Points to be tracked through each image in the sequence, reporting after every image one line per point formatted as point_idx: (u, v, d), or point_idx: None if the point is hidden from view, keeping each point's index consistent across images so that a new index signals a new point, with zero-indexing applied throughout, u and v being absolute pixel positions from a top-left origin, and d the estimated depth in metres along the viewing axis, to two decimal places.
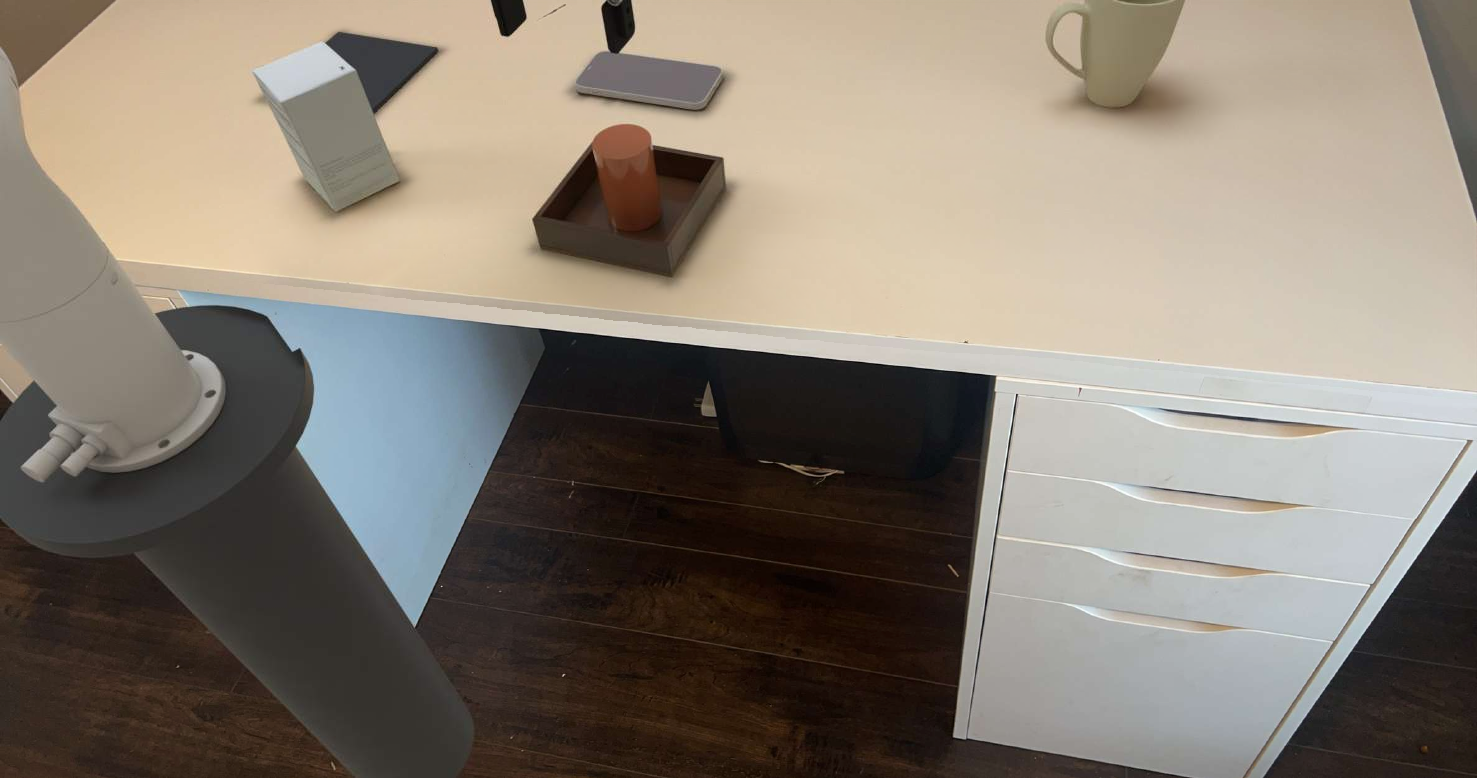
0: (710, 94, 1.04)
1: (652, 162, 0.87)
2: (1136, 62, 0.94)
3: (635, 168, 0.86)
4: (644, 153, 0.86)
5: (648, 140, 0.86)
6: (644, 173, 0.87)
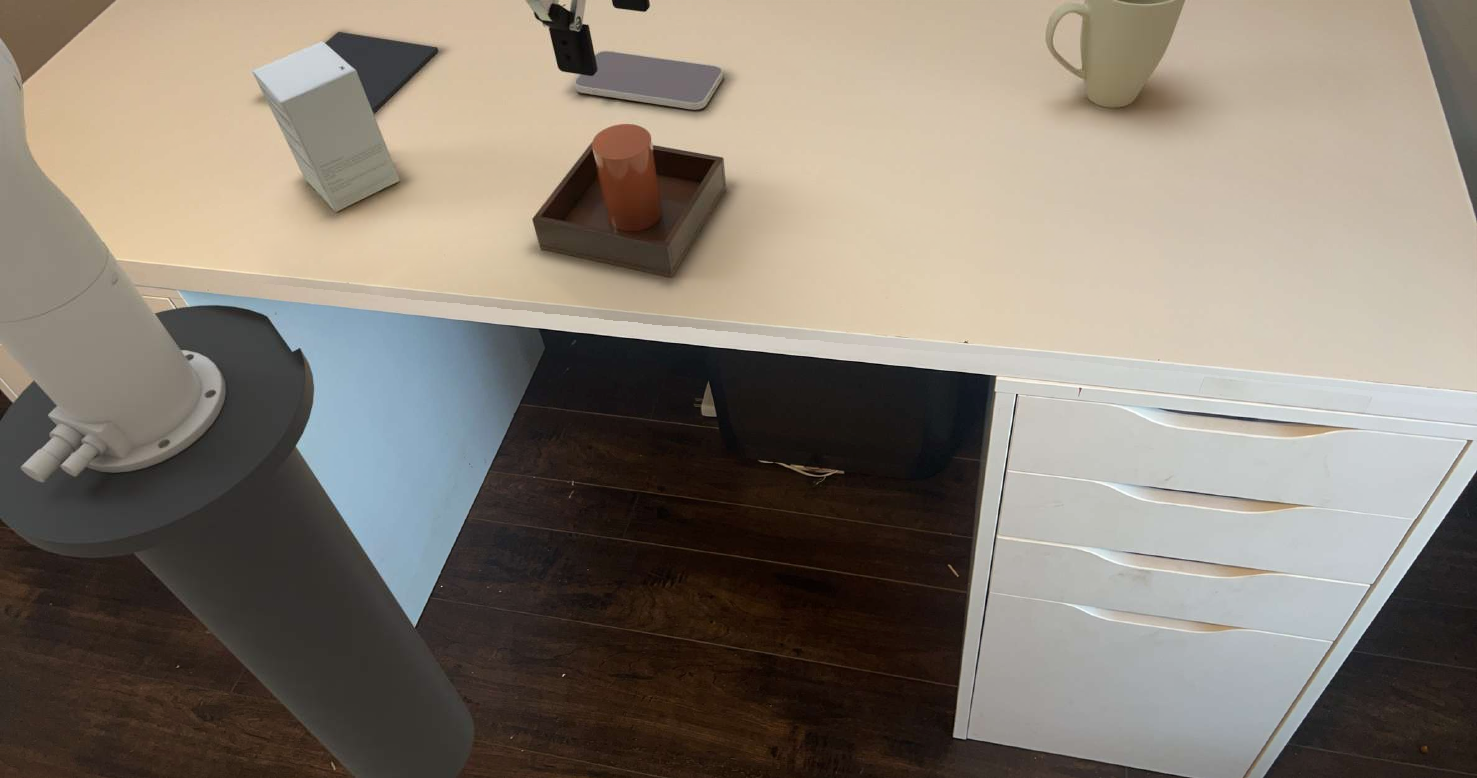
0: (710, 94, 1.04)
1: (652, 162, 0.87)
2: (1136, 62, 0.94)
3: (635, 168, 0.86)
4: (644, 153, 0.86)
5: (648, 140, 0.86)
6: (644, 173, 0.87)
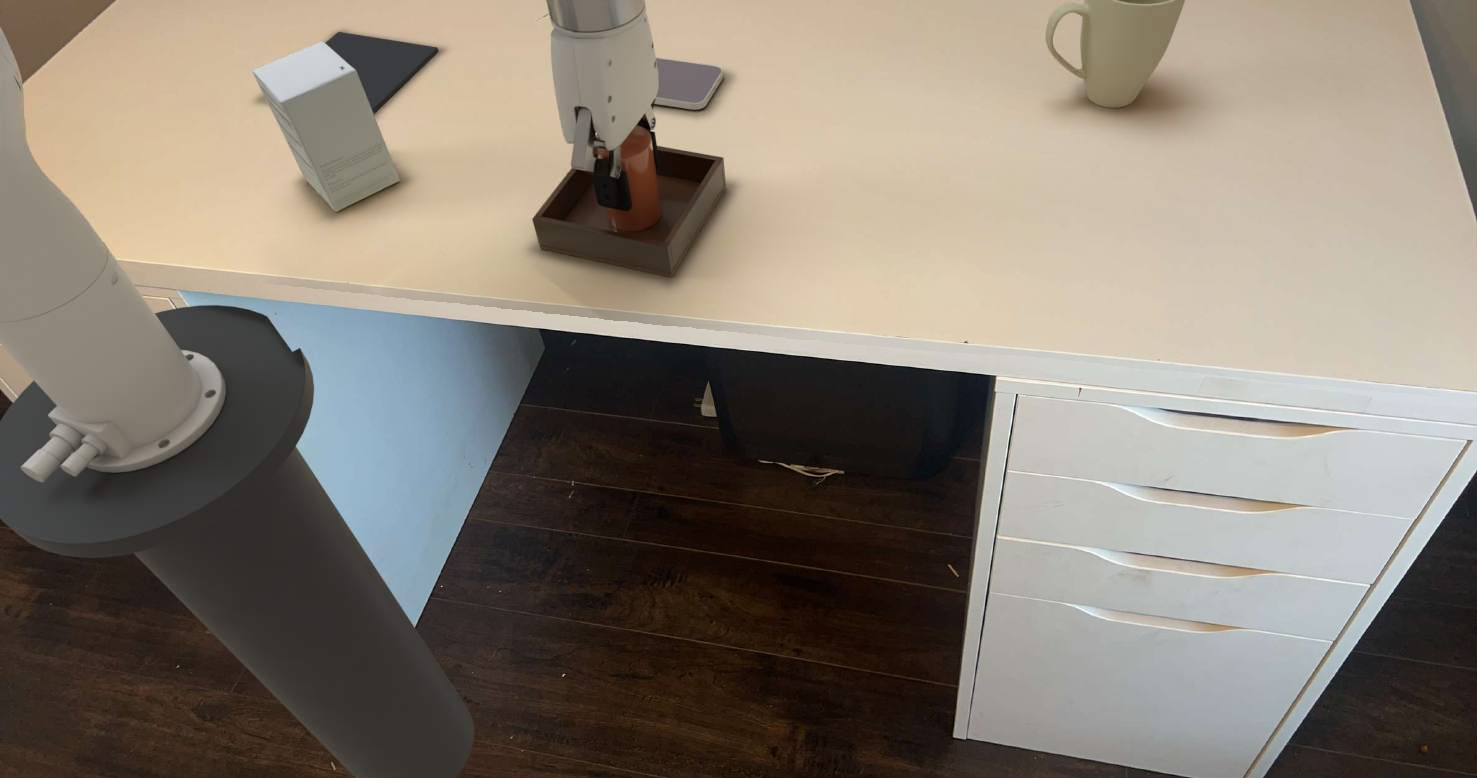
0: (710, 94, 1.04)
1: (652, 162, 0.87)
2: (1136, 62, 0.94)
3: (635, 168, 0.86)
4: (644, 153, 0.86)
5: (648, 140, 0.86)
6: (644, 173, 0.87)
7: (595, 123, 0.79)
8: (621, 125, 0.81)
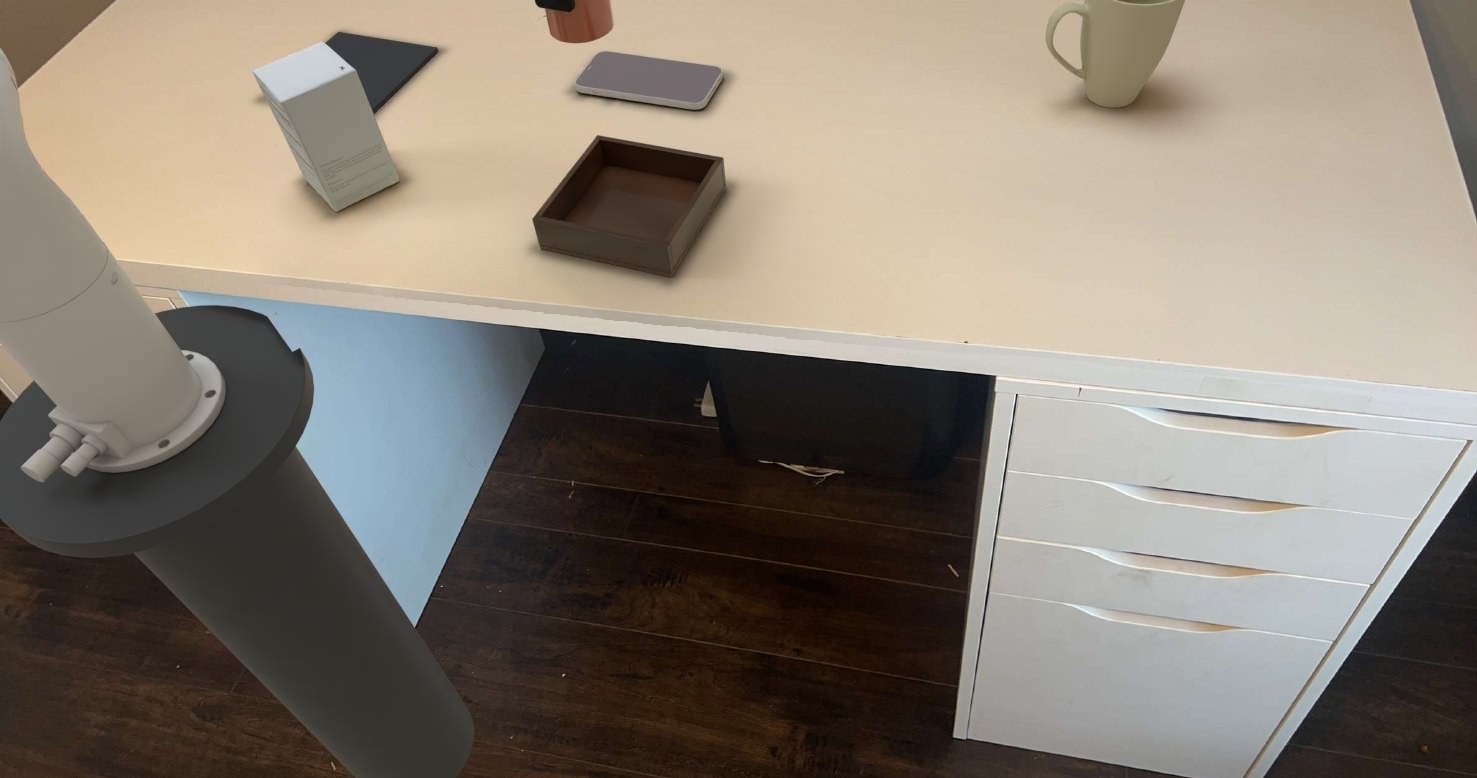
0: (710, 94, 1.04)
1: None
2: (1136, 62, 0.94)
3: None
4: None
5: None
6: None
7: None
8: None
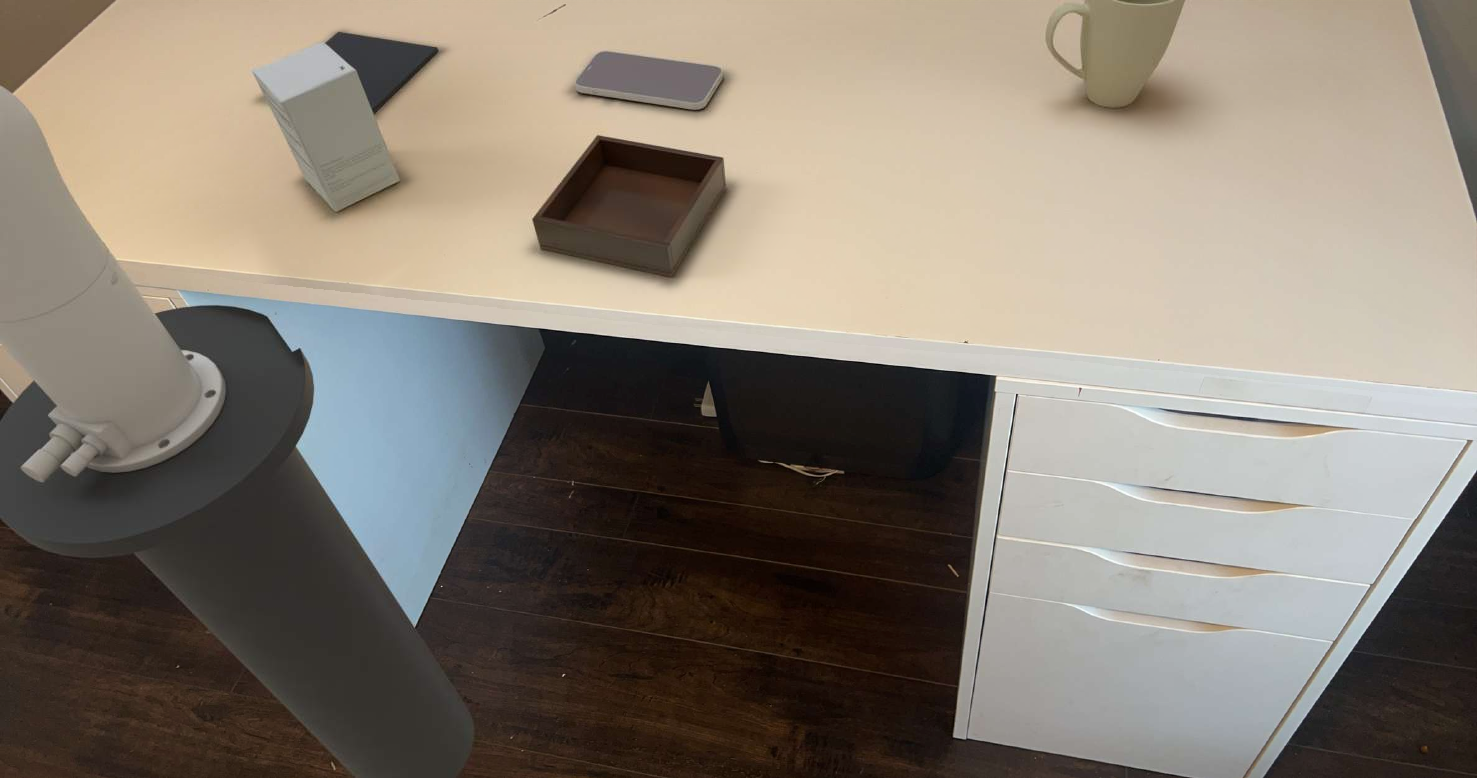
0: (710, 94, 1.04)
1: None
2: (1136, 62, 0.94)
3: None
4: None
5: None
6: None
7: None
8: None
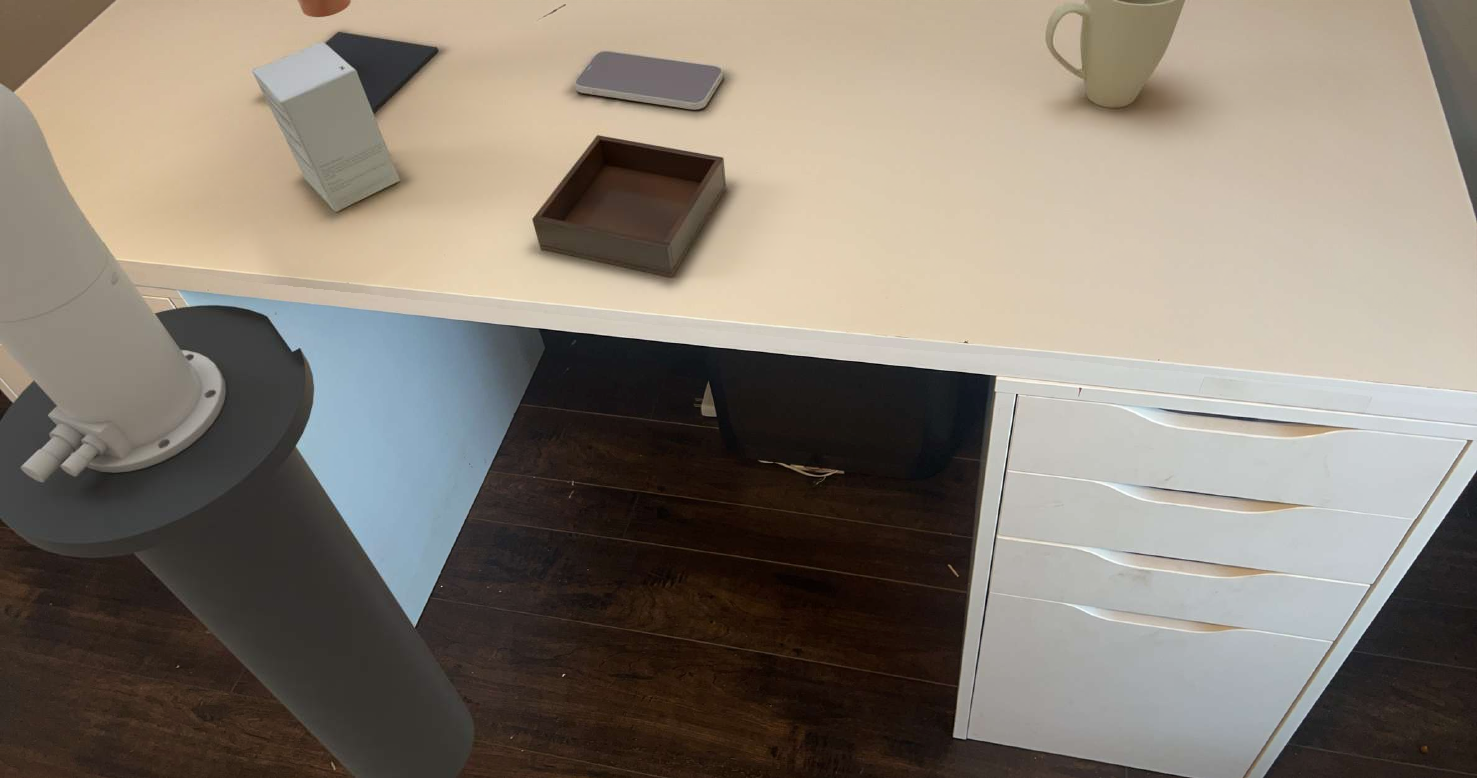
0: (710, 94, 1.04)
1: None
2: (1136, 62, 0.94)
3: None
4: None
5: None
6: None
7: None
8: None
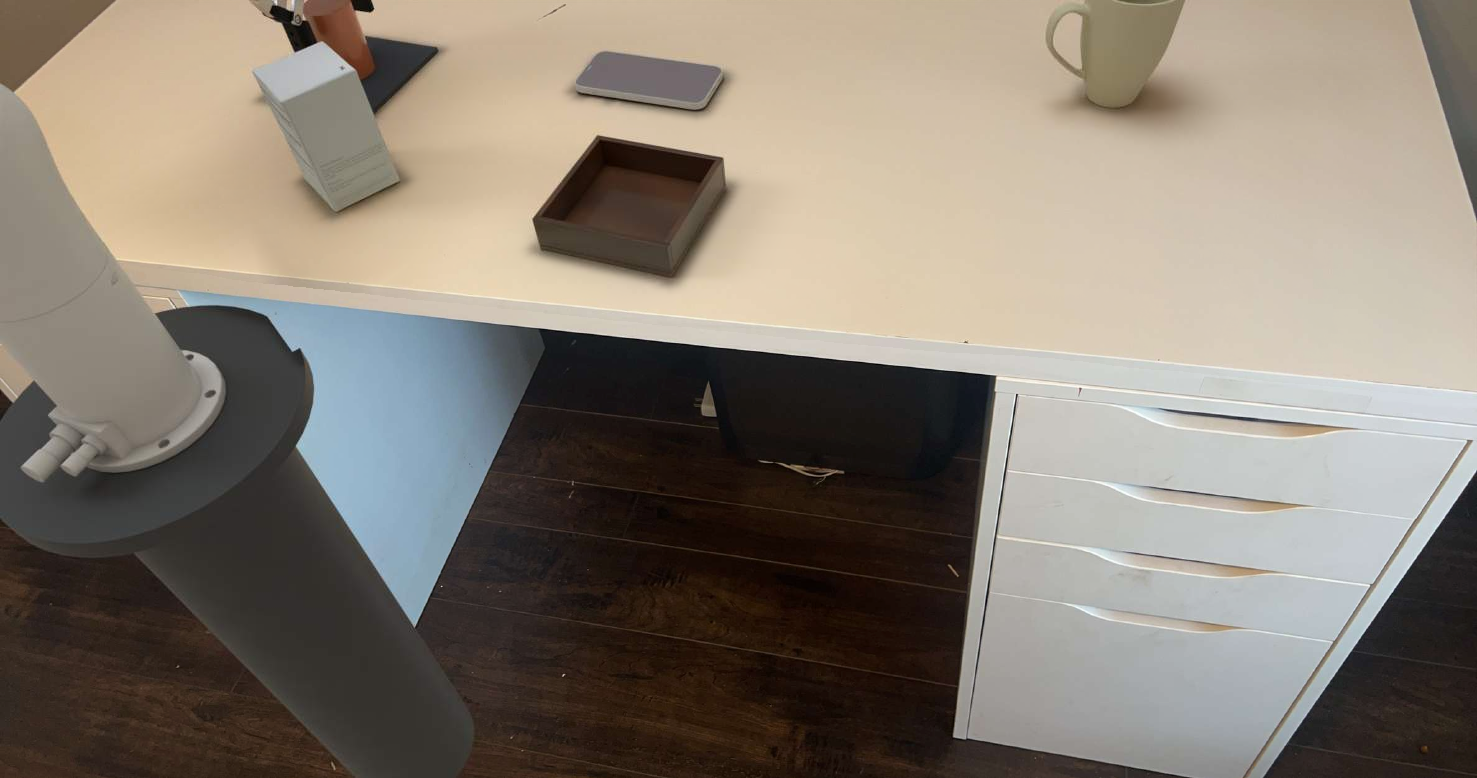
0: (710, 94, 1.04)
1: (353, 22, 1.07)
2: (1136, 62, 0.94)
3: (335, 25, 1.06)
4: (341, 12, 1.06)
5: (347, 2, 1.06)
6: (345, 30, 1.07)
7: None
8: None
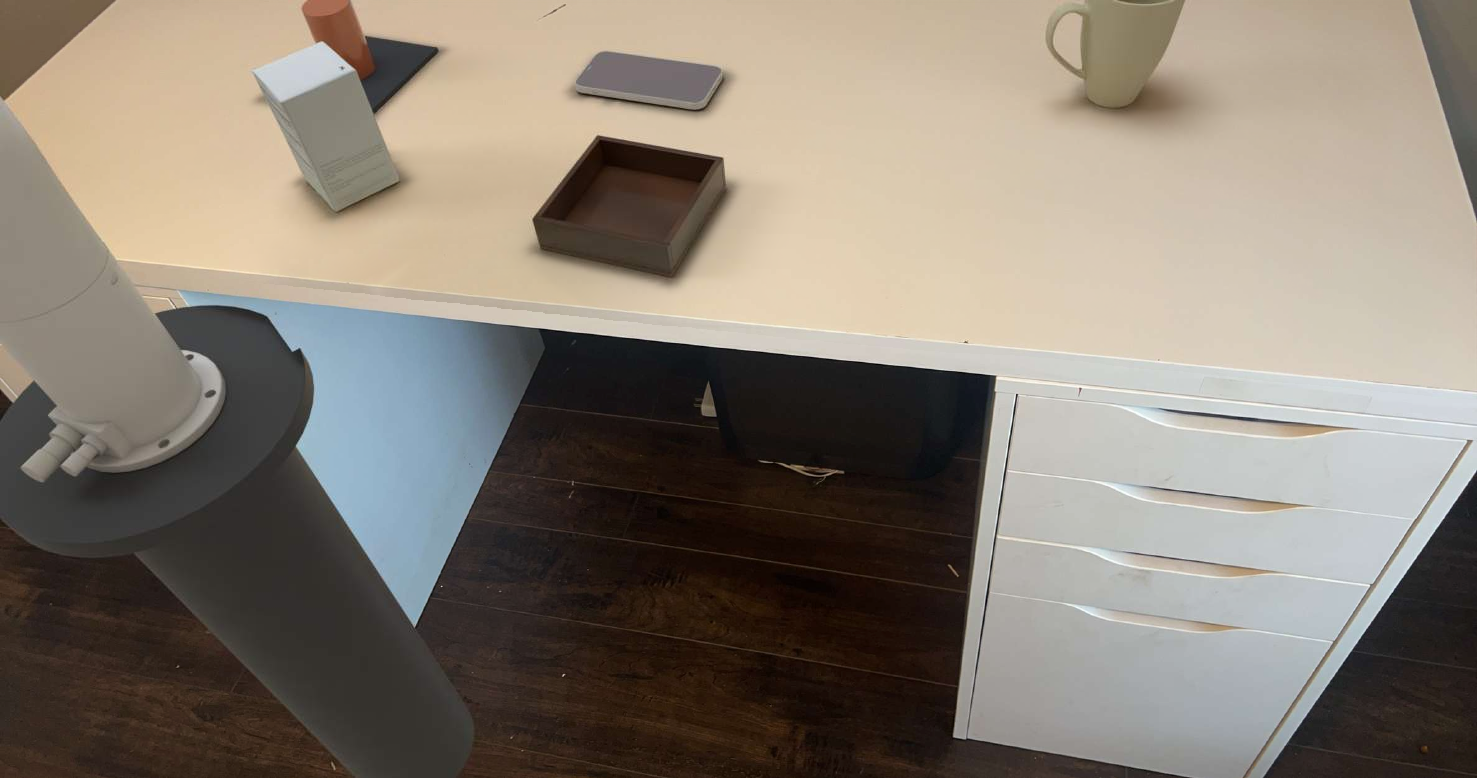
0: (710, 94, 1.04)
1: (353, 22, 1.07)
2: (1136, 62, 0.94)
3: (335, 25, 1.06)
4: (341, 12, 1.06)
5: (347, 2, 1.06)
6: (345, 30, 1.07)
7: None
8: None
